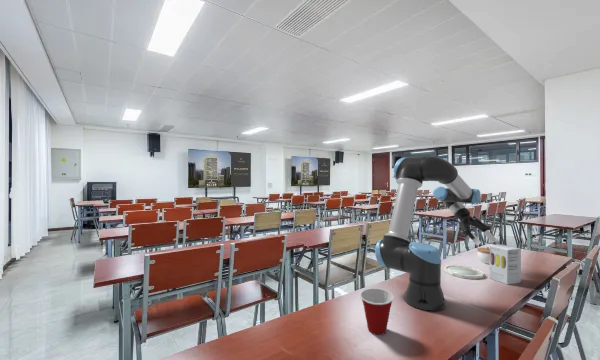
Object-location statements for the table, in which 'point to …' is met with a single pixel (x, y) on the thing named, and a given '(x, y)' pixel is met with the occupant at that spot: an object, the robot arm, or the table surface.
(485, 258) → the lidded jar
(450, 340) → the table surface
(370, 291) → the plastic cup
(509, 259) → the supplement box
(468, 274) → the dish
